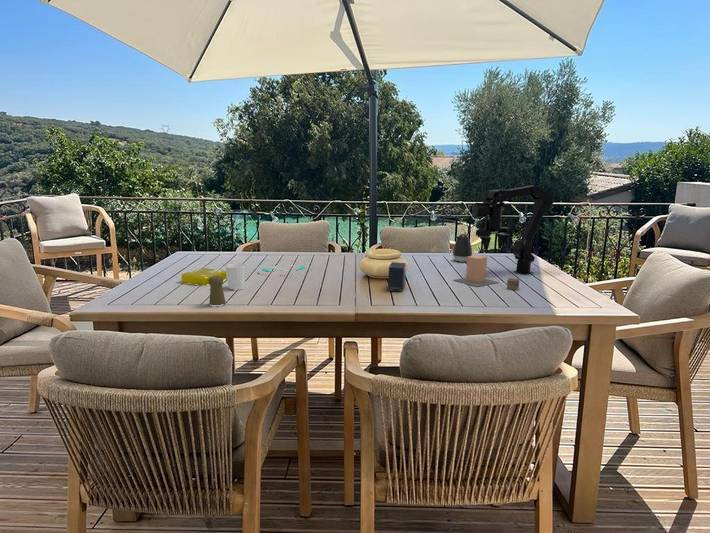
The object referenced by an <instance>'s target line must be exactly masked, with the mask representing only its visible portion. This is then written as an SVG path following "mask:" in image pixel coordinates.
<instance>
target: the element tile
mask: <svg viewBox="0 0 710 533" xmlns="http://www.w3.org/2000/svg"><path fill="white" fill-rule="evenodd" d="M180 276H181V283H182V282H183V283H182V284H185V283H191V284H198V285H207V284H209V278H210V277H212V276H221V277H222V278H223V280H224V279H227V271H226V270H223V269H214V268H207V267H203V268H199V269H194V270H191V271H188V272H183V273H181V274H180ZM191 284H190V285H191ZM198 285H197V286H198Z"/></svg>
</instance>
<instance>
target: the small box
mask: <svg viewBox="0 0 710 533" xmlns="http://www.w3.org/2000/svg"><path fill="white" fill-rule="evenodd" d="M406 267H407V265H406V262H405V263H404V262H394V261H392V262H391V263H390V264H389V266H388V274H387V275H388V278H387V279H388V283H387V291H388V292H397V293H403V291H404V289H405V287H406V272H407V271H406V270H407V269H406Z"/></svg>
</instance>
